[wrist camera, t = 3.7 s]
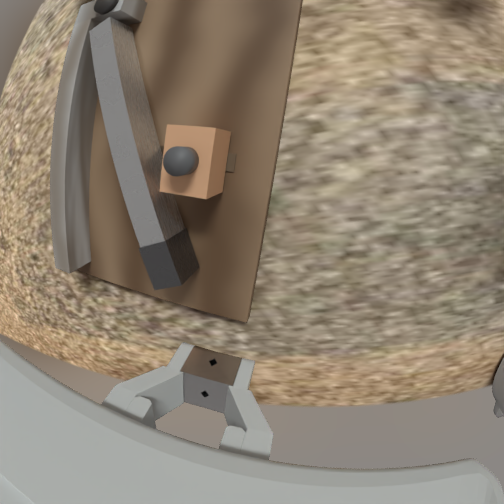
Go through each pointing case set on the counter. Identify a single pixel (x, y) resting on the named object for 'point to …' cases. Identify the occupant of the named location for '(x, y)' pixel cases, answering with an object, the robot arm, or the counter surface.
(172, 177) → the tan knobbed block
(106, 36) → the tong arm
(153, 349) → the counter surface
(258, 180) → the brown wooden board
